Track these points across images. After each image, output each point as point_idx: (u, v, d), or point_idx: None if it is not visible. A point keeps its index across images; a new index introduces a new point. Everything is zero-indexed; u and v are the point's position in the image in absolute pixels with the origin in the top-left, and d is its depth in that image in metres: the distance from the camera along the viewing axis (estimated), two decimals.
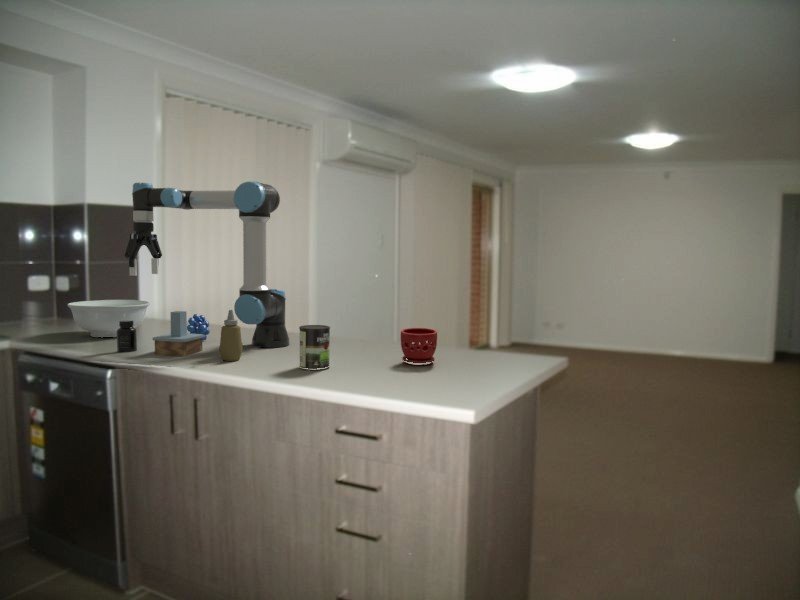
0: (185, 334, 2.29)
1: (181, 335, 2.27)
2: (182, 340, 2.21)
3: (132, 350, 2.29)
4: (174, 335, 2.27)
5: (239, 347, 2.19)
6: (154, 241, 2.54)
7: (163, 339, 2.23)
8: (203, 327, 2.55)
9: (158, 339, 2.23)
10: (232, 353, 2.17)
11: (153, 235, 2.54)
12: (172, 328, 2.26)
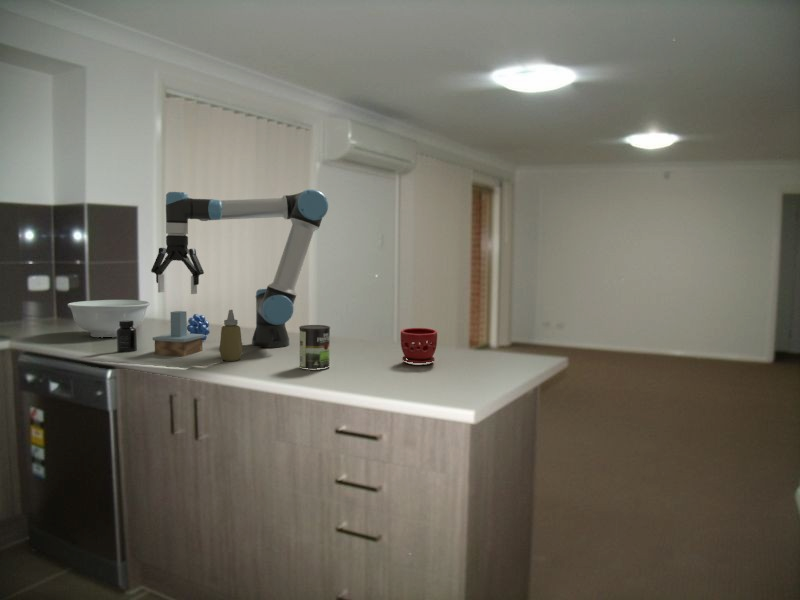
0: (185, 334, 2.29)
1: (181, 335, 2.27)
2: (182, 340, 2.21)
3: (132, 350, 2.29)
4: (174, 335, 2.27)
5: (239, 347, 2.19)
6: None
7: (163, 339, 2.23)
8: (203, 327, 2.55)
9: (158, 339, 2.23)
10: (232, 353, 2.17)
11: None
12: (172, 328, 2.26)
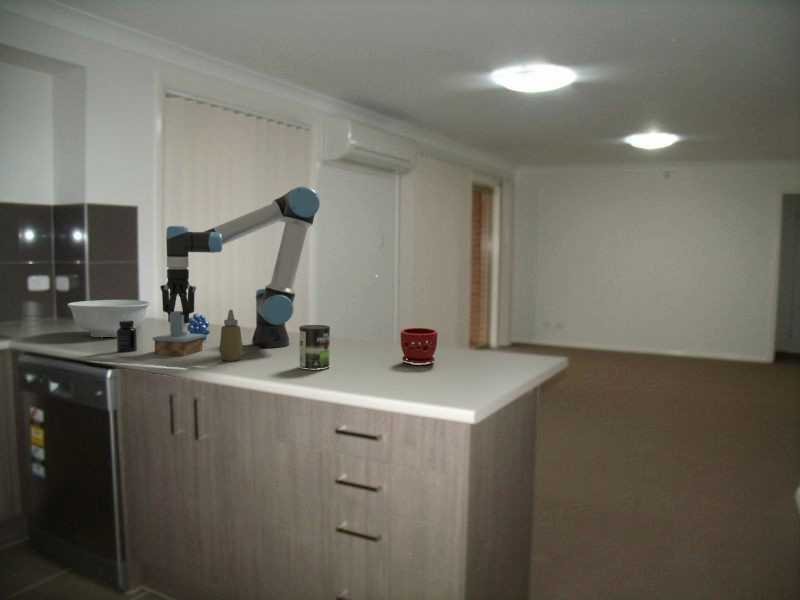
0: (185, 334, 2.29)
1: (181, 335, 2.27)
2: (182, 340, 2.21)
3: (132, 350, 2.29)
4: (174, 335, 2.27)
5: (239, 347, 2.19)
6: None
7: (163, 339, 2.23)
8: (203, 327, 2.55)
9: (158, 339, 2.23)
10: (232, 353, 2.17)
11: None
12: (172, 328, 2.26)
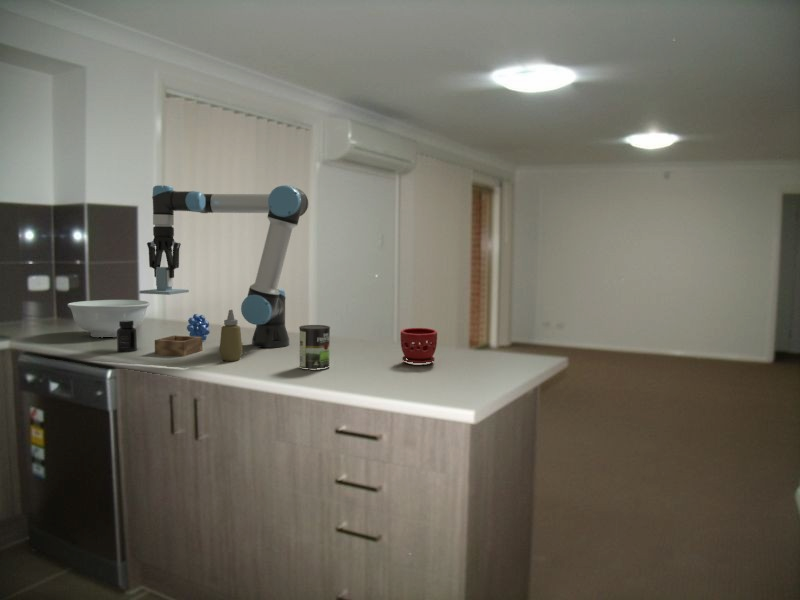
0: (170, 289, 2.42)
1: (166, 289, 2.40)
2: (167, 293, 2.34)
3: (132, 350, 2.29)
4: (160, 289, 2.40)
5: (239, 347, 2.19)
6: None
7: (149, 292, 2.36)
8: (203, 327, 2.55)
9: (144, 292, 2.36)
10: (232, 353, 2.17)
11: None
12: (158, 282, 2.40)
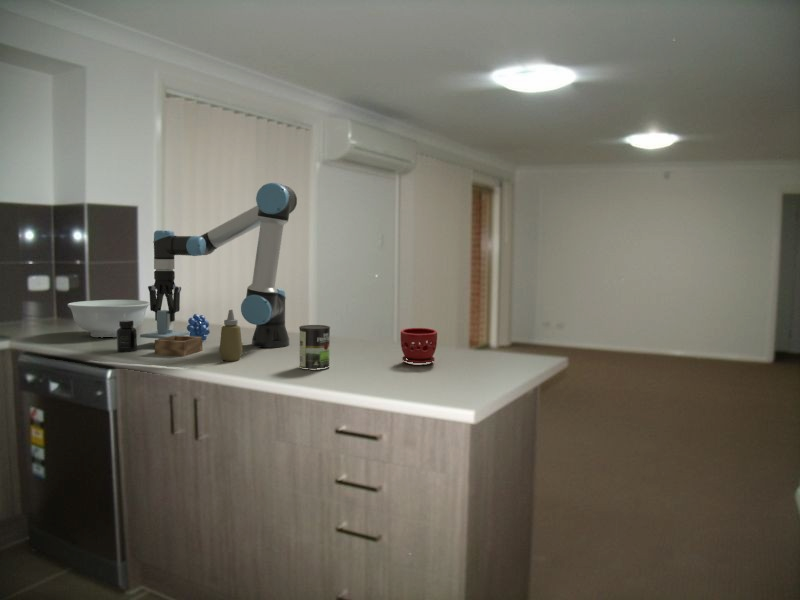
0: (171, 332, 2.44)
1: (167, 333, 2.42)
2: None
3: (132, 350, 2.29)
4: (160, 333, 2.42)
5: (239, 347, 2.19)
6: None
7: (150, 336, 2.38)
8: (203, 327, 2.55)
9: (145, 336, 2.38)
10: (232, 353, 2.17)
11: None
12: (159, 326, 2.42)
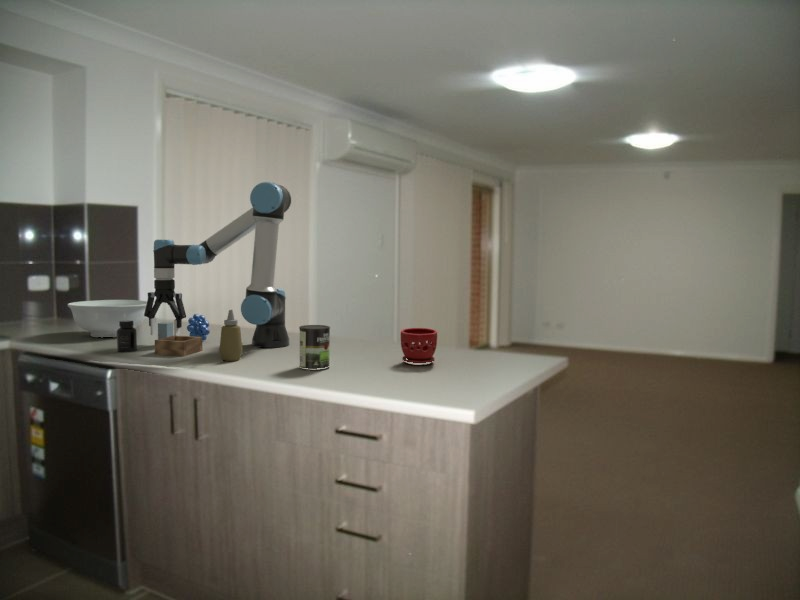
0: None
1: None
2: None
3: (132, 350, 2.29)
4: None
5: (239, 347, 2.19)
6: None
7: None
8: (203, 327, 2.55)
9: None
10: (232, 353, 2.17)
11: None
12: (159, 338, 2.42)
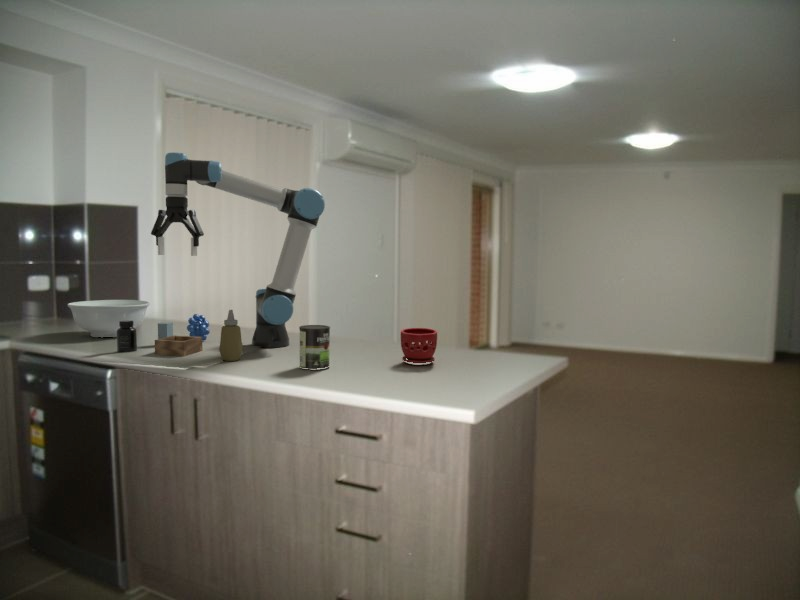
0: None
1: None
2: None
3: (132, 350, 2.29)
4: None
5: (239, 347, 2.19)
6: None
7: None
8: (203, 327, 2.55)
9: None
10: (232, 353, 2.17)
11: None
12: (159, 338, 2.42)
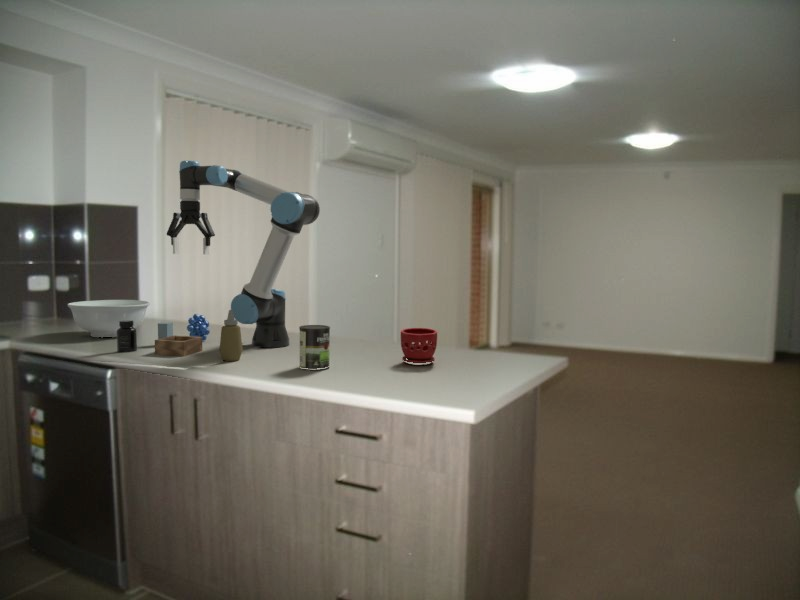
0: None
1: None
2: None
3: (132, 350, 2.29)
4: None
5: (239, 347, 2.19)
6: None
7: None
8: (203, 327, 2.55)
9: None
10: (232, 353, 2.17)
11: None
12: (159, 338, 2.42)
